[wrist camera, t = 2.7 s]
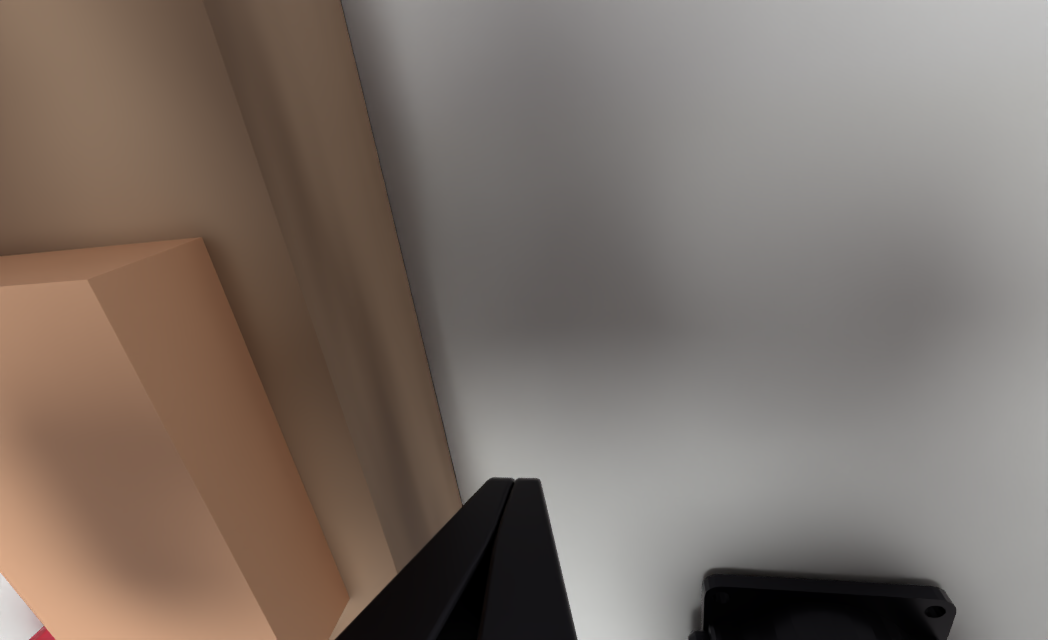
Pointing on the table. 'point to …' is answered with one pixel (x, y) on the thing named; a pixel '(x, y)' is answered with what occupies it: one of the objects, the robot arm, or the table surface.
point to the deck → (245, 227)
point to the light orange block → (148, 457)
